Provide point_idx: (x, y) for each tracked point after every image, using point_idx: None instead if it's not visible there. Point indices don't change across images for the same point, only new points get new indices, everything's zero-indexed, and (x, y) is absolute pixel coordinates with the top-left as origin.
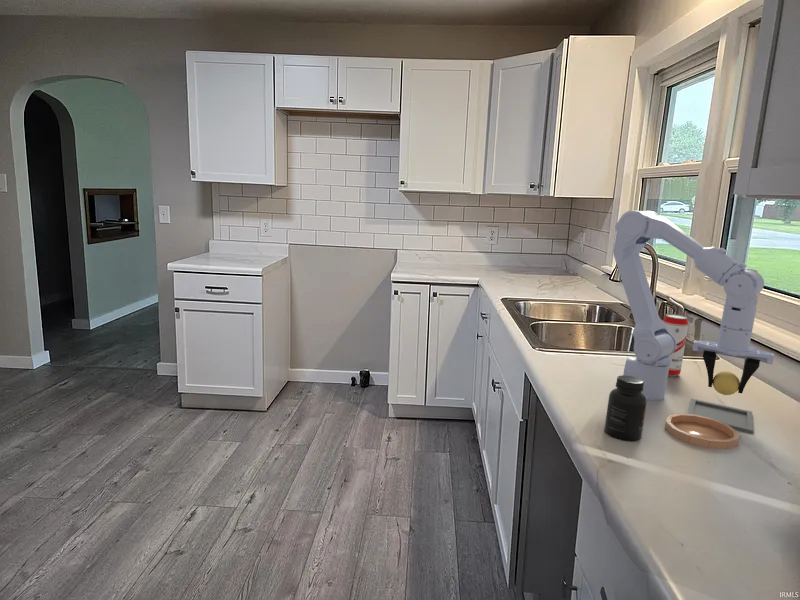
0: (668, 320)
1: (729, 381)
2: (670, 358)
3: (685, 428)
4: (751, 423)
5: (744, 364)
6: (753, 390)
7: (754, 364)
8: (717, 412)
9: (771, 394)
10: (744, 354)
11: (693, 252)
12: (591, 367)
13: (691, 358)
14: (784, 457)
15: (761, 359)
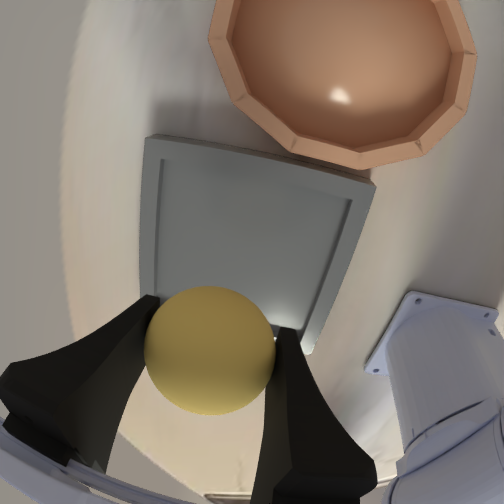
0: None
1: (193, 327)
2: None
3: (398, 68)
4: (144, 209)
5: (99, 437)
6: (151, 430)
7: (7, 390)
8: (242, 285)
9: (122, 419)
10: (46, 486)
11: None
12: None
13: (245, 495)
14: (98, 26)
15: (2, 433)
